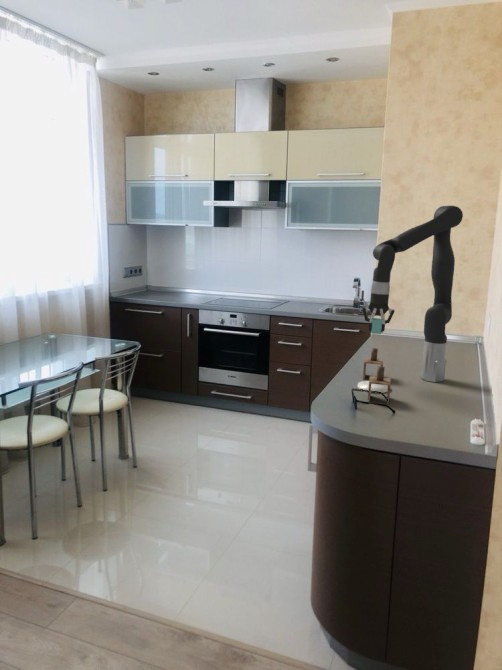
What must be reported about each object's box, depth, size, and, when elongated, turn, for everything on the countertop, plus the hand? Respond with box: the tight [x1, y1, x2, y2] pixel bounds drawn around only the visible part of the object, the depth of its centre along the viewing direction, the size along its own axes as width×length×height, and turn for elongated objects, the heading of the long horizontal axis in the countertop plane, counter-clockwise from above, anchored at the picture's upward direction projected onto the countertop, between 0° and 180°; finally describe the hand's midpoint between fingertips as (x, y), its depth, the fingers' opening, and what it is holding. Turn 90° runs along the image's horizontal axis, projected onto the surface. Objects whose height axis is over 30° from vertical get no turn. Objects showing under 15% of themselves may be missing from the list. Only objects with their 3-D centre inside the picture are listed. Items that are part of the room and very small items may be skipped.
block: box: [370, 317, 382, 335], centre depth 237 cm, size 4×4×6 cm
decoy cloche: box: [367, 365, 392, 405], centre depth 215 cm, size 8×8×13 cm
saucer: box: [357, 380, 388, 394], centre depth 230 cm, size 13×13×1 cm
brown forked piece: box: [362, 347, 384, 381], centre depth 244 cm, size 8×8×13 cm
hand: (376, 331), depth 238 cm, fingers closed on block, 4 cm apart
